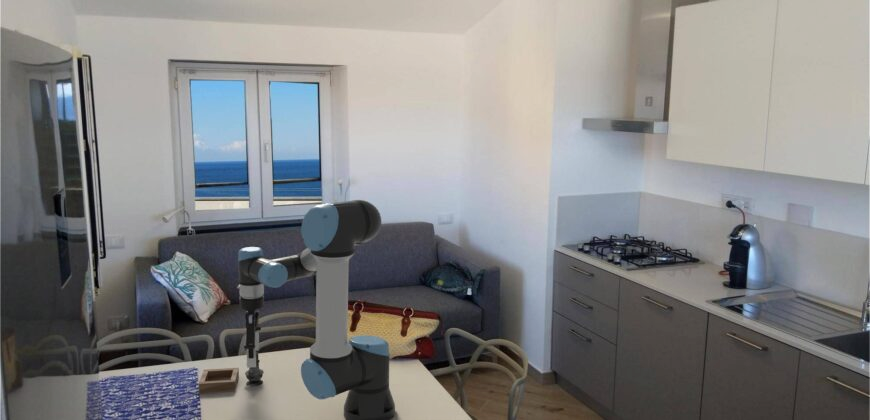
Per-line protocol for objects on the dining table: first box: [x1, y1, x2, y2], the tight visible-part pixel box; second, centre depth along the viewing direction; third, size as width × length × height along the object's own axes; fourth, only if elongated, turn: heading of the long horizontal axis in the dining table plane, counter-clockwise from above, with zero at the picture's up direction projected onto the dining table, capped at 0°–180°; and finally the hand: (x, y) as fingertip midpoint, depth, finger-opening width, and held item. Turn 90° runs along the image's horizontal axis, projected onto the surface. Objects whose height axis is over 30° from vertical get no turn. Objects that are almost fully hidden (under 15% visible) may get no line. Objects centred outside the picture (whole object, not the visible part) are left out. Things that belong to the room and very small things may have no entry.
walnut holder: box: [198, 367, 240, 395], centre depth 213 cm, size 11×11×3 cm
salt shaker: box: [244, 351, 264, 387], centre depth 214 cm, size 6×6×12 cm
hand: (253, 358), depth 214 cm, fingers open, 13 cm apart
